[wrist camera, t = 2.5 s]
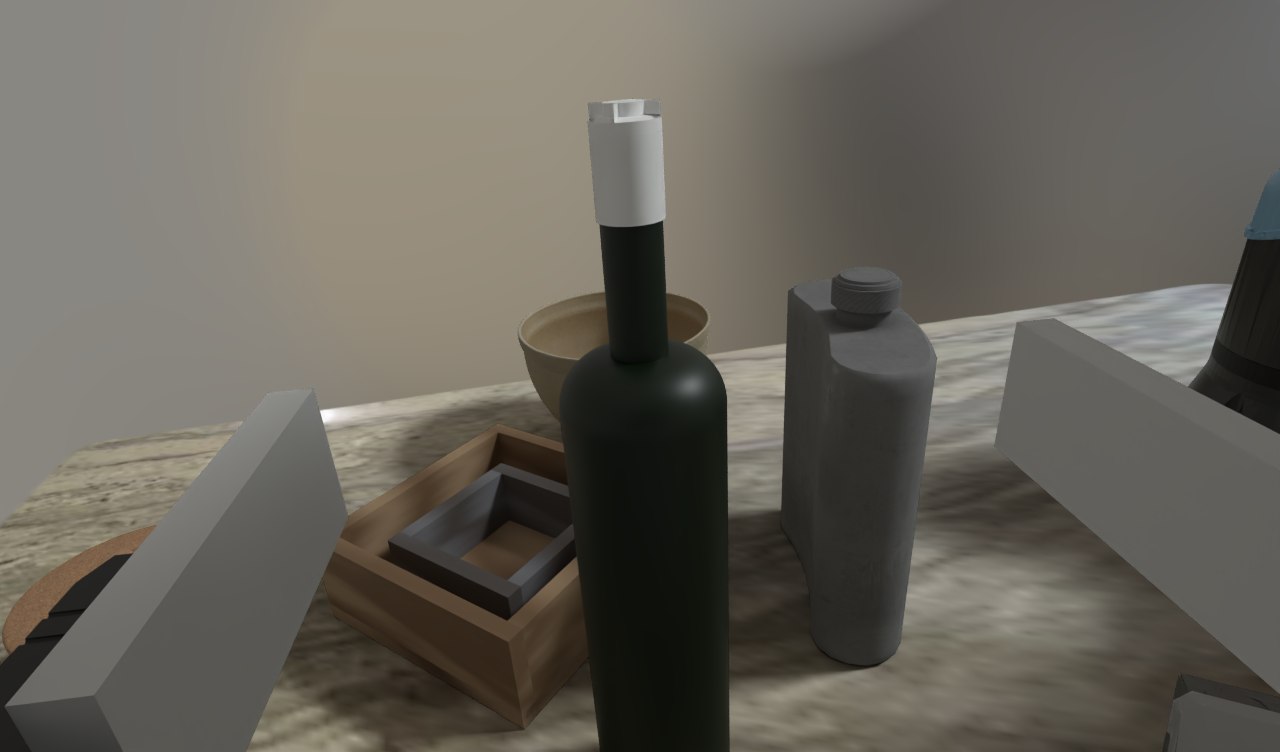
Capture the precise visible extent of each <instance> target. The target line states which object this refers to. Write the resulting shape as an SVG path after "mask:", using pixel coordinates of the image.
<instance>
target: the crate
mask: <svg viewBox="0 0 1280 752" xmlns="http://www.w3.org/2000/svg"><path fill="white" fill-rule="evenodd" d="M322 578H323V581H324V585H325V588H326V591H327V594H328V597H329V600H330V604H331V607H332V610H333V613H334V616H335V617H337V618H338V619H340V620H342V621H343V622H345V623H347V624H348V625H350V626H352V627H354V628H355V629H357V630H359V631H360V632H362V633H364V634H365V635H367V636H369V637H370V638H372V639H374V640H375V641H377V642H379V643H380V644H382V645H384V646H385V647H387V648H389V649H390V650H392V651H394V652H396V653H397V654H399V655H401V656H402V657H404V658H406V659H407V660H409V661H411V662H412V663H414V664H416V665H417V666H419V667H421V668H422V669H424V670H426V671H427V672H429V673H431V674H432V675H434V676H436V677H438V678H439V679H441V680H443V681H444V682H446V683H448V684H449V685H451V686H453V687H454V688H456V689H458V690H459V691H461V692H463V693H464V694H466V695H468V696H469V697H471V698H473V699H474V700H476V701H478V702H480V703H481V704H483V705H485V706H486V707H488V708H490V709H491V710H493V711H495V712H496V713H498V714H500V715H501V716H503V717H505V718H506V719H508V720H510V721H511V722H513V723H515V724H516V725H518V726H520V727H522V728H523V729H525V728H526V727H527V726H528V725H529V724H530V722H531V721H532V720H533V719H534V718H535V717H536V716H537V715H538V713H539V712H540V711H541V710H542V709H543V708H544V707H545V706H546V704H547V703H548V702H549V701H550V700H551V699H552V698H553V697H554V695H555V694H556V693H557V692H558V691H559V690H560V689H561V688H562V686H563V685H564V684H565V683H566V682H567V681H568V680H569V678H570V677H571V676H572V675H573V674H574V673H575V672H576V671H577V669H578V668H579V667H580V666H581V665H582V664H583V663H584V662H585V660H586V659H587V658H588V657H589V654H588V646H587V637H586V629H585V621H584V613H583V604H582V596H581V588H580V579H579V571H578V563H577V555H576V546H575V538H574V530H573V522H572V513H571V505H570V497H569V488H568V480H567V472H566V464H565V455H564V447H563V443H560V442H557V441H554V440H550V439H547V438H544V437H541V436H537V435H534V434H531V433H527V432H524V431H521V430H518V429H514V428H511V427H508V426H504V425H501V424H496V425H494V426H493V427H491V428H490V429H488V430H486V431H485V432H483V433H481V434H480V435H478V436H477V437H475V438H473V439H472V440H470V441H469V442H467V443H465V444H464V445H462V446H460V447H459V448H457V449H456V450H454V451H452V452H451V453H449V454H447V455H446V456H444V457H443V458H441V459H439V460H438V461H436V462H435V463H433V464H431V465H430V466H428V467H426V468H425V469H423V470H422V471H420V472H418V473H417V474H415V475H414V476H412V477H410V478H409V479H407V480H405V481H404V482H402V483H401V484H399V485H397V486H396V487H394V488H393V489H391V490H389V491H388V492H386V493H384V494H383V495H381V496H380V497H378V498H376V499H375V500H373V501H372V502H370V503H368V504H367V505H365V506H363V507H362V508H360V509H359V510H357V511H355V512H354V513H352V514H351V515H349V516H348V519H347V522H346V524H345V526H344V529H343V531H342V533H341V535H340V538H339V540H338V542H337V545H336V547H335V549H334V551H333V554H332V556H331V558H330V561H329V563H328V565H327V567H326V570H325V572H324V574H323V577H322Z"/></svg>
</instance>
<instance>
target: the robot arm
mask: <svg viewBox="0 0 1280 752" xmlns="http://www.w3.org/2000/svg"><path fill="white" fill-rule="evenodd" d="M1244 237H1247V238H1248V239H1247V242H1246V245H1245V248H1244V251H1243V255H1242V257H1241V261H1240V264H1239V267H1238V270H1237V273H1236V276H1235V279H1234V282H1233V285H1232V289H1231V292H1230V295H1229V298H1228V301H1227V304H1226V307H1225V310H1224V313H1223V317H1222V320H1221V323H1220V326H1219V329H1218V332H1217V336H1216V339H1215V342H1214V345H1213V349H1212V352H1211V355H1210V358H1209V360H1208V362H1207V363H1206V365H1205V366H1204V367H1203V369H1202V370H1201V371H1200V372H1199V374H1198V375H1197V376H1196V377H1195V378H1194V380H1193V381H1192V382H1191V383H1190V385H1189V386H1188V387H1187V386H1185V385H1183V384H1181V383H1179V382H1177V381H1175V380H1173V379H1171V378H1169V377H1167V376H1165V375H1163V374H1161V373H1159V372H1157V371H1155V370H1154V369H1152V368H1150V367H1148V366H1146V365H1144V364H1142V363H1140V362H1138V361H1136V360H1134V359H1132V358H1130V357H1128V356H1126V355H1124V354H1122V353H1120V352H1118V351H1117V350H1115V349H1113V348H1111V347H1109V346H1107V345H1105V344H1103V343H1101V342H1099V341H1097V340H1095V339H1093V338H1091V337H1089V336H1087V335H1085V334H1083V333H1081V332H1080V331H1078V330H1076V329H1074V328H1072V327H1070V326H1068V325H1066V324H1064V323H1062V322H1060V321H1058V320H1056V319H1043V320H1033V321H1022V322H1017V323H1016V328H1015V334H1014V340H1013V345H1012V351H1011V356H1010V362H1009V367H1008V373H1007V378H1006V384H1005V390H1004V395H1003V401H1002V406H1001V412H1000V417H999V423H998V428H997V434H996V439H995V445H994V446H995V447H996V448H997V449H998V450H999V451H1000V452H1002V453H1003V454H1004V455H1005V456H1006V457H1007V458H1008V459H1010V460H1011V461H1012V462H1013V463H1014V464H1015V465H1016V466H1018V467H1019V468H1020V469H1021V470H1022V471H1023V472H1025V473H1026V474H1027V475H1028V476H1029V477H1030V478H1031V479H1033V480H1034V481H1035V482H1036V483H1037V484H1038V485H1039V486H1041V487H1042V488H1043V489H1044V490H1045V491H1046V492H1048V493H1049V494H1050V495H1051V496H1052V497H1053V498H1054V499H1056V500H1057V501H1058V502H1059V503H1060V504H1061V505H1062V506H1064V507H1065V508H1066V509H1067V510H1068V511H1069V512H1071V513H1072V514H1073V515H1074V516H1075V517H1076V518H1077V519H1079V520H1080V521H1081V522H1082V523H1083V524H1084V525H1086V526H1087V527H1088V528H1089V529H1090V530H1091V531H1092V532H1094V533H1095V534H1096V535H1097V536H1098V537H1099V538H1100V539H1102V540H1103V541H1104V542H1105V543H1106V544H1107V545H1109V546H1110V547H1111V548H1112V549H1113V550H1114V551H1115V552H1117V553H1118V554H1119V555H1120V556H1121V557H1122V558H1123V559H1125V560H1126V561H1127V562H1128V563H1129V564H1130V565H1132V566H1133V567H1134V568H1135V569H1136V570H1137V571H1138V572H1140V573H1141V574H1142V575H1143V576H1144V577H1145V578H1146V579H1148V580H1149V581H1150V582H1151V583H1152V584H1153V585H1155V586H1156V587H1157V588H1158V589H1159V590H1160V591H1161V592H1163V593H1164V594H1165V595H1166V596H1167V597H1168V598H1169V599H1171V600H1172V601H1173V602H1174V603H1175V604H1176V605H1178V606H1179V607H1180V608H1181V609H1182V610H1183V611H1184V612H1186V613H1187V614H1188V615H1189V616H1190V617H1191V618H1192V619H1194V620H1195V621H1196V622H1197V623H1198V624H1199V625H1201V626H1202V627H1203V628H1204V629H1205V630H1206V631H1207V632H1209V633H1210V634H1211V635H1212V636H1213V637H1214V638H1215V639H1217V640H1218V641H1219V642H1220V643H1221V644H1222V645H1224V646H1225V647H1226V648H1227V649H1228V650H1229V651H1230V652H1232V653H1233V654H1234V655H1235V656H1236V657H1237V658H1239V659H1240V660H1241V661H1242V662H1243V663H1244V664H1245V665H1247V666H1248V667H1249V668H1250V669H1251V670H1252V671H1253V672H1255V673H1256V674H1257V675H1258V676H1259V677H1260V678H1262V679H1263V680H1264V681H1265V682H1266V683H1267V684H1268V685H1270V686H1271V687H1272V688H1273V689H1274V690H1275V691H1276V692H1278V693H1279V694H1280V169H1278V170H1277V171H1276V172H1275V173H1274V174H1273V175H1272V176H1271V177H1270V178H1269V180H1268V181H1267V183H1266V185H1265V187H1264V190H1263V192H1262V195H1261V198H1260V200H1259V203H1258V206H1257V208H1256V211H1255V214H1254V216H1253V219H1252V221H1251V223H1250V224H1249V225H1248V226H1247V227H1246V228H1245V232H1244ZM347 519H348V513H347V510H346V506H345V502H344V498H343V495H342V491H341V487H340V484H339V480H338V476H337V473H336V469H335V465H334V462H333V458H332V454H331V450H330V447H329V443H328V439H327V436H326V432H325V428H324V425H323V421H322V417H321V414H320V410H319V406H318V403H317V399H316V395H315V392H314V389H313V388H312V389H301V390H291V391H280V392H269V393H268V394H267V395H266V396H265V398H264V399H263V400H262V401H261V402H260V404H259V405H258V406H257V407H256V408H255V410H254V411H253V412H252V413H251V414H250V415H249V417H248V418H247V419H246V420H245V421H244V423H243V424H242V425H241V426H240V427H239V428H238V430H237V431H236V432H235V433H234V434H233V436H232V437H231V438H230V439H229V440H228V442H227V443H226V444H225V445H224V446H223V447H222V449H221V450H220V451H219V452H218V453H217V455H216V456H215V457H214V458H213V459H212V461H211V462H210V463H209V464H208V465H207V467H206V468H205V469H204V470H203V471H202V472H201V474H200V475H199V476H198V477H197V478H196V480H195V481H194V482H193V483H192V484H191V486H190V487H189V488H188V489H187V490H186V491H185V493H184V494H183V495H182V496H181V497H180V499H179V500H178V501H177V502H176V503H175V505H174V506H173V507H172V508H171V509H170V510H169V512H168V513H167V514H166V515H165V516H164V518H163V519H162V520H161V521H160V522H159V524H158V525H157V526H156V527H155V528H154V529H153V531H152V532H151V533H150V534H149V535H148V537H147V538H146V539H145V540H144V541H143V543H142V544H141V545H140V546H139V547H138V549H137V550H136V551H135V552H134V553H130V554H121V555H114V556H113V557H111V558H110V559H109V560H107V561H106V562H104V563H103V564H101V565H100V566H99V567H97V568H96V569H94V570H93V571H91V572H90V573H89V574H87V575H86V576H84V577H83V578H81V579H80V580H79V581H77V582H76V583H75V584H74V585H73V586H72V587H71V588H70V589H69V590H68V591H67V593H66V594H65V595H64V596H63V597H62V598H61V599H60V600H59V601H58V603H57V604H56V605H55V606H54V607H53V608H52V609H51V610H50V611H49V612H48V618H47V619H42V620H41V621H40V622H39V624H38V625H37V626H36V627H35V628H34V629H33V630H32V631H31V632H30V633H29V635H28V636H27V637H26V638H25V644H24V645H19V646H18V647H17V648H16V649H15V650H14V651H13V652H12V653H11V654H10V656H9V657H8V658H7V659H6V660H5V661H4V662H3V663H2V664H1V666H0V752H246V750H247V748H248V745H249V743H250V741H251V739H252V736H253V734H254V732H255V729H256V727H257V725H258V723H259V720H260V718H261V716H262V713H263V711H264V709H265V707H266V704H267V702H268V700H269V698H270V695H271V693H272V691H273V688H274V686H275V684H276V682H277V679H278V677H279V675H280V672H281V670H282V668H283V666H284V663H285V661H286V659H287V656H288V654H289V652H290V650H291V647H292V645H293V643H294V640H295V638H296V636H297V634H298V631H299V629H300V627H301V624H302V622H303V620H304V618H305V615H306V613H307V611H308V608H309V606H310V604H311V602H312V599H313V597H314V595H315V593H316V590H317V588H318V586H319V583H320V581H321V579H322V577H323V574H324V572H325V570H326V567H327V565H328V563H329V561H330V558H331V556H332V554H333V551H334V549H335V547H336V545H337V542H338V540H339V538H340V535H341V533H342V531H343V529H344V526H345V524H346V522H347Z"/></svg>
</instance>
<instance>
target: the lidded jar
mask: <svg viewBox="0 0 1280 752" xmlns="http://www.w3.org/2000/svg"><path fill="white" fill-rule="evenodd" d="M156 526H157V525H154V526H150V527H146V528H142V529H139V530H136V531H132V532H129V533H126V534H123V535H121V536H118V537H116V538H113V539H110V540H108V541H106V542H103V543H101V544H99V545H97V546H94V547H92V548H90V549H88V550H86V551H85V552H83V553H81V554H79V555H77V556H75V557H73V558H72V559H70V560H68V561H67V562H65V563H63V564H62V565H60V566H58V567H57V568H56V569H54V570H53V571H51V572H50V573H49V574H47V575H46V576H44V577H43V578H42V579H41V580H39V581H38V582H37V583H36V584H35V585H33V586H32V587H31V588H30V589H29V590H28V591H27V592H26V593H25V594H24V595H23V596H22V597H21V598H20V600H19V601H18V602H17V603H16V605H15V606H14V607H13V608H12V610H11V612H10V614H9V616H8V617H7V619H6V622H5V625H4V628H3V632H2V638H3V644H4V646H5V648H6V650H7V652H8V654H9V655H10V654H11V653H12V652H13V651H14V650H15V649H16V648H17V647H18V646H19V645H24V644H25V638H26V637H27V636H28V635H29V633H30V632H31V631H32V630H33V629H34V628H35V627H36V626H37V625H38V624H39V622H40V621H41V620H42V619H47V618H48V612H49V611H50V610H51V609H52V608H53V607H54V606H55V605H56V604H57V603H58V601H59V600H60V599H61V598H62V597H63V596H64V595H65V594H66V593H67V591H68V590H69V589H70V588H71V587H72V586H73V585H74V584H75V583H76V582H77V581H79V580H80V579H81V578H83V577H84V576H86V575H87V574H89V573H90V572H91V571H93V570H94V569H96V568H97V567H99V566H100V565H101V564H103V563H104V562H106V561H107V560H109V559H110V558H111V557H113V556H114V555H121V554H130V553H134V552H135V551H136V550H137V549H138V547H139V546H140V545H141V544H142V543H143V541H144V540H145V539H146V538H147V537H148V535H149V534H150V533H151V532H152V531H153V529H154V528H155V527H156Z"/></svg>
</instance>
